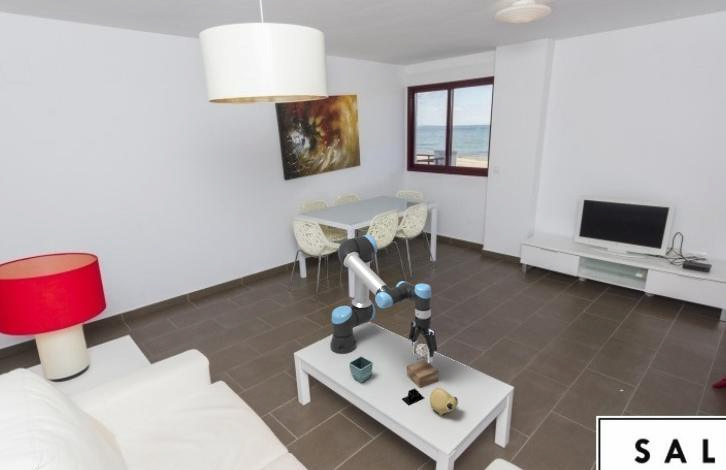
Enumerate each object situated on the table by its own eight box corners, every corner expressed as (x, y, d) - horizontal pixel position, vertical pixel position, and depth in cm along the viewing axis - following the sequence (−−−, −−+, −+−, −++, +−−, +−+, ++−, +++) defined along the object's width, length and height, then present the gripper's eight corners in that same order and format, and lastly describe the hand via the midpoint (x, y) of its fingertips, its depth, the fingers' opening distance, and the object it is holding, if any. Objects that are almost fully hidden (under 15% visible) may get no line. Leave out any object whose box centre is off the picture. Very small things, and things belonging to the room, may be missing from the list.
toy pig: (449, 424, 160) (450, 402, 157) (425, 411, 168) (425, 390, 165) (460, 411, 167) (461, 390, 164) (437, 399, 175) (437, 379, 172)
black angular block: (407, 409, 170) (407, 400, 169) (397, 399, 176) (397, 391, 175) (428, 399, 176) (428, 390, 175) (418, 390, 182) (418, 382, 181)
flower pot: (361, 370, 198) (361, 355, 196) (373, 377, 192) (373, 362, 189) (349, 378, 192) (348, 362, 190) (361, 386, 186) (360, 370, 184)
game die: (424, 363, 189) (434, 345, 190) (425, 367, 181) (436, 349, 181) (409, 353, 191) (419, 336, 191) (409, 356, 182) (420, 338, 183)
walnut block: (406, 376, 193) (406, 366, 191) (424, 369, 197) (424, 359, 196) (419, 388, 183) (419, 377, 181) (437, 381, 188) (438, 371, 186)
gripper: (401, 310, 187) (401, 351, 193) (434, 326, 170) (434, 370, 176) (412, 306, 192) (412, 345, 197) (445, 321, 175) (444, 364, 181)
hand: (422, 357), depth 187 cm, fingers closed on game die, 9 cm apart
